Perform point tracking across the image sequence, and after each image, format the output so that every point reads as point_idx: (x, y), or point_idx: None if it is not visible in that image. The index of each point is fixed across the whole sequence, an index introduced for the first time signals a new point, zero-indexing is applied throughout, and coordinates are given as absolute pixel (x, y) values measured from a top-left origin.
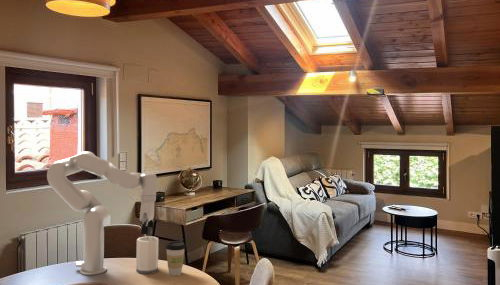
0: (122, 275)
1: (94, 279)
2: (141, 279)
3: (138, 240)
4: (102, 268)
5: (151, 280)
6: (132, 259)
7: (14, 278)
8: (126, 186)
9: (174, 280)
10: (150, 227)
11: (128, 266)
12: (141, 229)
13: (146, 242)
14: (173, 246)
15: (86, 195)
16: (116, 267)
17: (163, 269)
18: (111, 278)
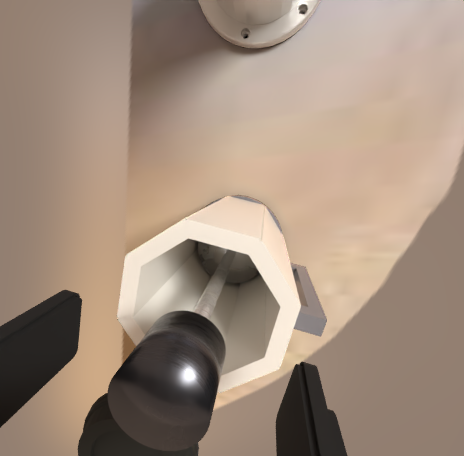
0: (184, 140)
1: (143, 16)
2: (136, 220)
3: (158, 235)
4: (242, 20)
5: (125, 255)
6: (420, 163)
7: None
8: None
9: (123, 328)
10: (156, 437)
11: (303, 153)
12: (16, 321)
13: (123, 297)
14: (79, 441)
15: None
16: (298, 94)
17: None
18: (151, 96)
